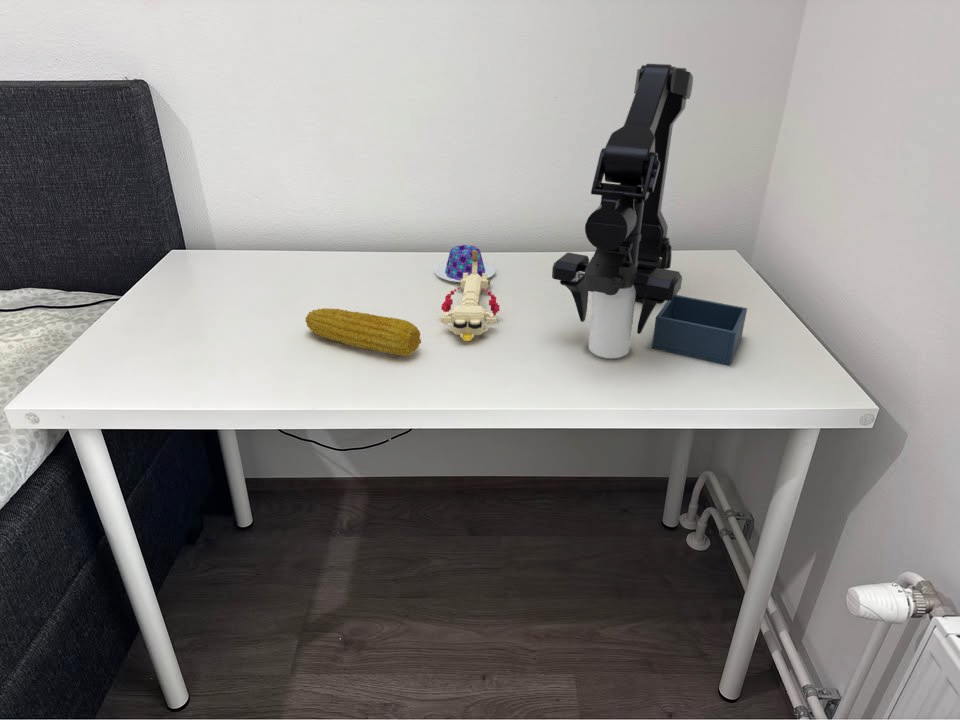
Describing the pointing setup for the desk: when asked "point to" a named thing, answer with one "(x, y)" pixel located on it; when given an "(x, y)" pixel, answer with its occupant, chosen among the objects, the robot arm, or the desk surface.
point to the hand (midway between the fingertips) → (610, 326)
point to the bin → (699, 329)
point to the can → (612, 323)
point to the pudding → (462, 264)
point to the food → (365, 330)
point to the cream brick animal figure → (470, 305)
